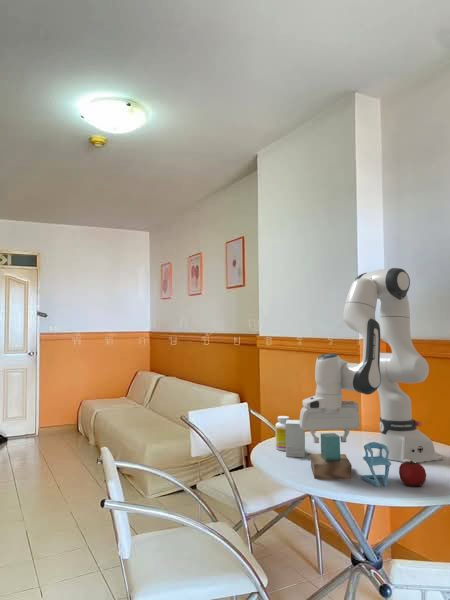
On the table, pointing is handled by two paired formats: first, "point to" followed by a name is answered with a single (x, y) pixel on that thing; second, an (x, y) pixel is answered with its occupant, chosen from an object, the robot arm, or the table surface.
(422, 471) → the tomato
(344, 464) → the walnut block
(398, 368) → the robot arm
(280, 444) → the supplement bottle
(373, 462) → the chair
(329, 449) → the spice tin
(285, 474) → the table surface
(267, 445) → the table surface
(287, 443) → the supplement box
